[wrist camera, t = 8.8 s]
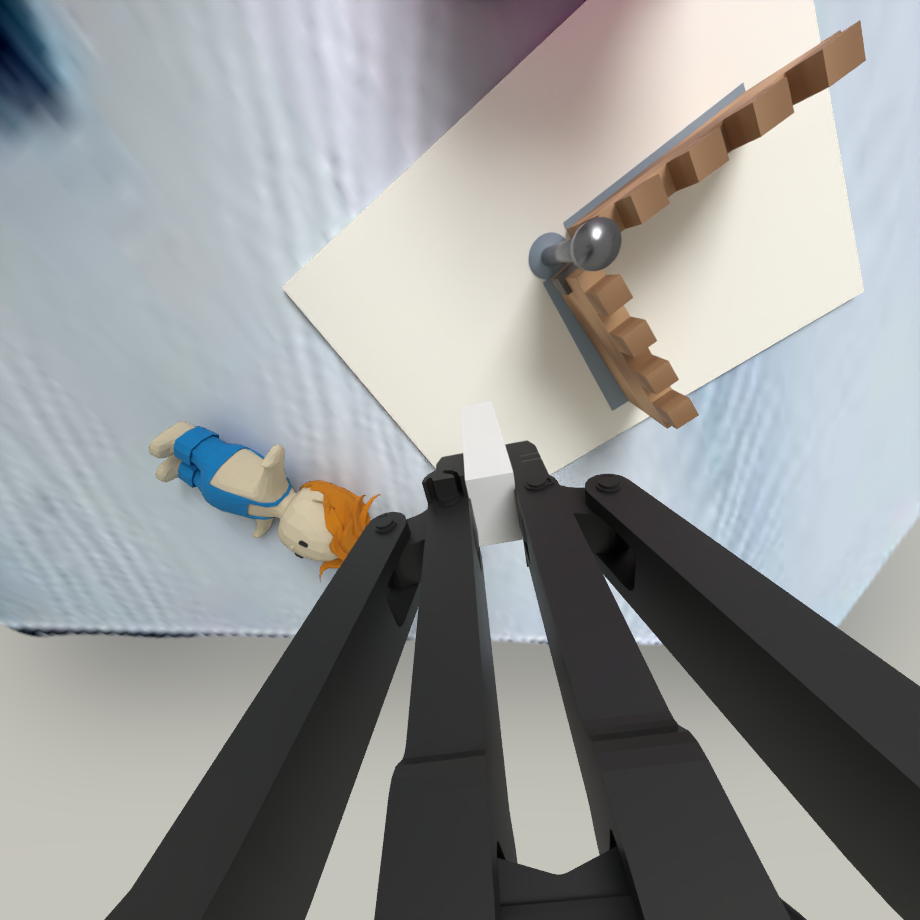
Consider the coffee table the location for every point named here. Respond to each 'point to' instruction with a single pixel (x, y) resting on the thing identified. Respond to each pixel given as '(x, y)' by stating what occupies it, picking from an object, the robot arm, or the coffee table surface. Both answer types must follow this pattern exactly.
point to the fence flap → (624, 343)
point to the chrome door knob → (587, 246)
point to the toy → (264, 492)
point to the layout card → (565, 202)
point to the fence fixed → (731, 130)
